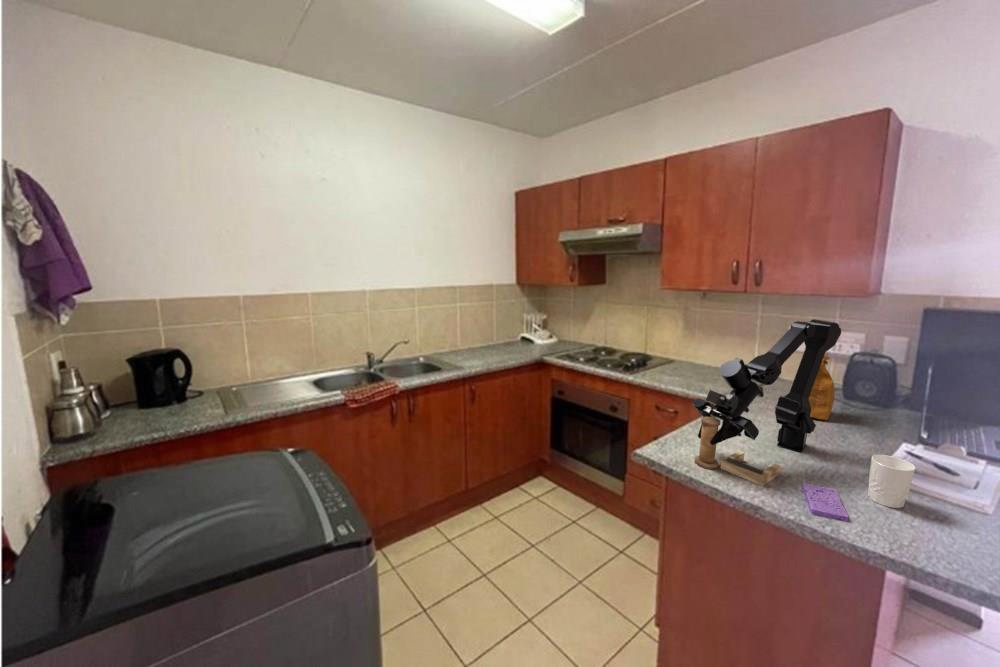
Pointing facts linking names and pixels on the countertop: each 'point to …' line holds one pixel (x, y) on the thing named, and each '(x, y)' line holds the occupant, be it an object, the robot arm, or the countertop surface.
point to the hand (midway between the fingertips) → (704, 440)
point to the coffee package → (822, 393)
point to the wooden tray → (749, 469)
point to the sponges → (824, 502)
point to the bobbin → (708, 443)
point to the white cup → (890, 480)
